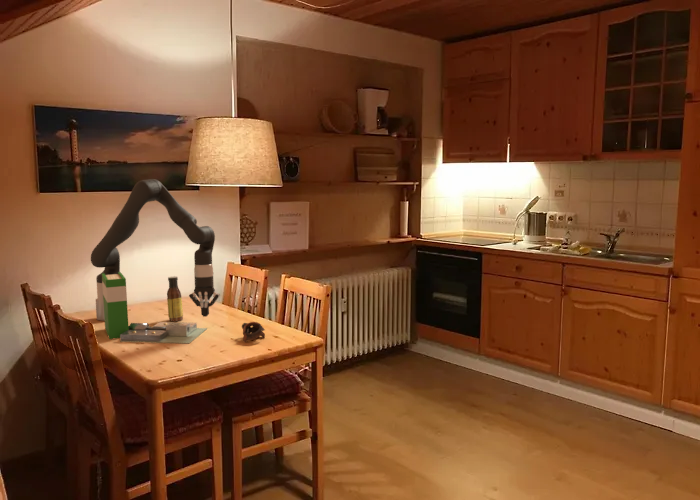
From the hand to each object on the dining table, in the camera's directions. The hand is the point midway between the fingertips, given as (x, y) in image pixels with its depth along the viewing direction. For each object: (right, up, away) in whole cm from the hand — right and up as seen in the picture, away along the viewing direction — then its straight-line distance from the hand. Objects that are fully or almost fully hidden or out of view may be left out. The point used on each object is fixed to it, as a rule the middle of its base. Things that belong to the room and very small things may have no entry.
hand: (205, 316), depth 246 cm
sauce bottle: (-19, -5, +23) cm, 30 cm away
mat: (-16, -8, -2) cm, 18 cm away
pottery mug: (+21, -9, -8) cm, 24 cm away
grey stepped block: (-22, -8, -6) cm, 24 cm away
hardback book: (-37, -7, +1) cm, 38 cm away
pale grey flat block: (-14, -7, +1) cm, 15 cm away
